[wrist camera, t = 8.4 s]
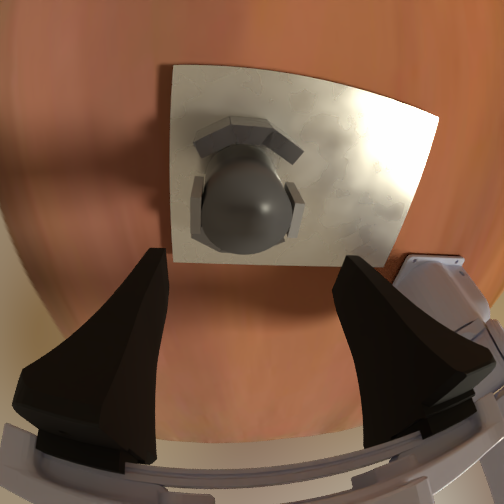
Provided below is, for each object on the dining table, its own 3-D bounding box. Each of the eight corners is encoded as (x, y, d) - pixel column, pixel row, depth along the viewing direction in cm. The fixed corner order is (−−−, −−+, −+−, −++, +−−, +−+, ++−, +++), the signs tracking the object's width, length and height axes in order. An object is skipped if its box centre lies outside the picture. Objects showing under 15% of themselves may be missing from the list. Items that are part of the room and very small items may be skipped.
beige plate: (430, 114, 16) (460, 127, 13) (378, 260, 24) (394, 286, 22) (176, 64, 13) (164, 65, 11) (174, 254, 22) (169, 285, 19)
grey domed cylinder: (287, 148, 17) (310, 181, 13) (276, 210, 19) (292, 256, 15) (199, 142, 16) (190, 173, 12) (196, 206, 18) (190, 252, 14)
